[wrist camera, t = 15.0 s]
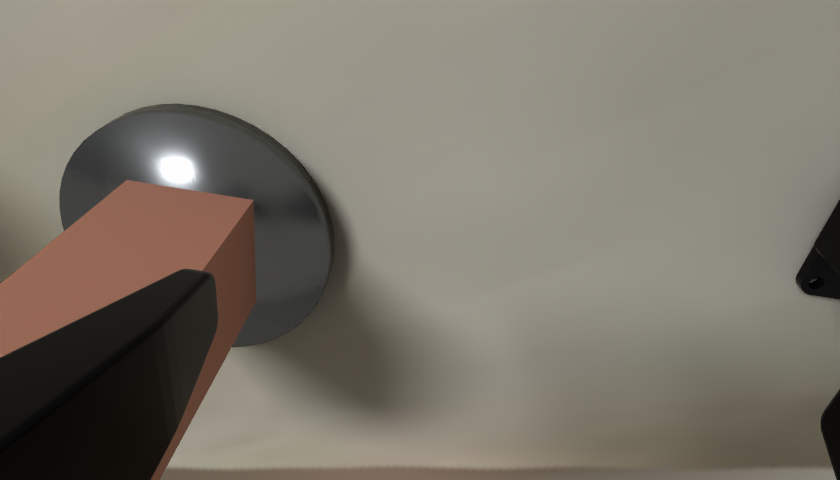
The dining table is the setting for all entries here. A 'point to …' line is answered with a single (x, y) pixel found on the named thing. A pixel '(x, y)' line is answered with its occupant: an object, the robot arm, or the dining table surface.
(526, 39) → the dining table surface
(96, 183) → the charcoal dinner plate
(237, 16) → the dining table surface
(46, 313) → the upright salmon prism
